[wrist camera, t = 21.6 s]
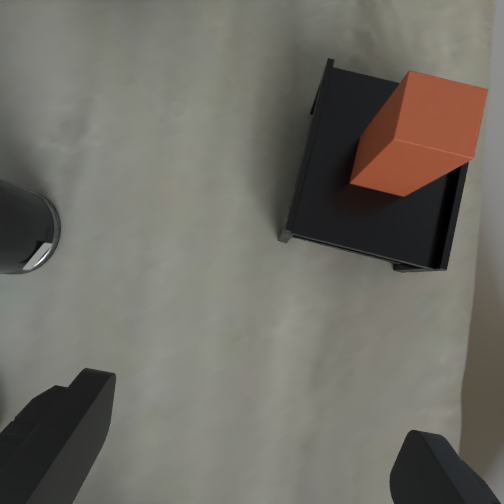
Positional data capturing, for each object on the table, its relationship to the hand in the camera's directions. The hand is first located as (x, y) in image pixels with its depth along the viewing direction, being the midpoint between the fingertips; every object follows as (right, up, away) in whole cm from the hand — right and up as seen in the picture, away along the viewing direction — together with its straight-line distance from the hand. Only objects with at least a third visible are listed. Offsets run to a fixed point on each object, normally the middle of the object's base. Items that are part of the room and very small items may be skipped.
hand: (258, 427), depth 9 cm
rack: (+11, +12, +27) cm, 32 cm away
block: (+12, +12, +20) cm, 26 cm away
